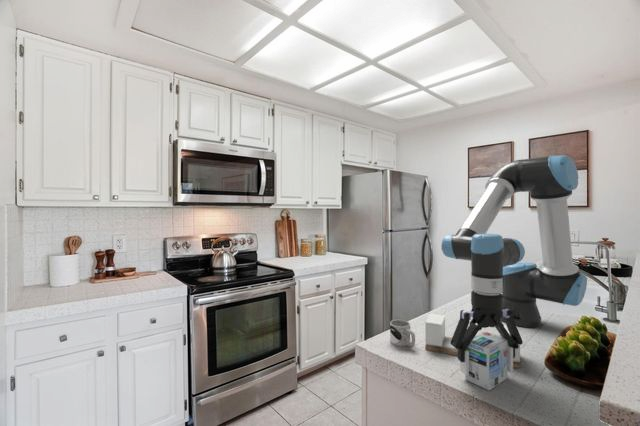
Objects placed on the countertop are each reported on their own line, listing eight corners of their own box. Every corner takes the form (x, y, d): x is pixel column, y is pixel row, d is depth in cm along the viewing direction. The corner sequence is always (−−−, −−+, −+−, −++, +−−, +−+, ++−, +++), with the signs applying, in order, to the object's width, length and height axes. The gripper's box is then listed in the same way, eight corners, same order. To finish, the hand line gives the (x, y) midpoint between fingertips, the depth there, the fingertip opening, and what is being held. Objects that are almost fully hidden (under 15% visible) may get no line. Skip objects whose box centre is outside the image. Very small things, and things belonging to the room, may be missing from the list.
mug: (386, 340, 108) (386, 321, 108) (400, 336, 111) (400, 318, 111) (406, 352, 99) (406, 332, 99) (422, 348, 102) (421, 328, 102)
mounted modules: (517, 348, 97) (517, 326, 97) (519, 361, 89) (520, 337, 89) (429, 333, 109) (429, 313, 109) (425, 343, 101) (425, 322, 101)
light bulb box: (489, 391, 78) (489, 349, 78) (463, 379, 83) (463, 340, 83) (508, 377, 84) (509, 338, 84) (483, 367, 90) (483, 330, 89)
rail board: (516, 353, 97) (516, 347, 97) (520, 368, 89) (520, 362, 89) (430, 337, 110) (430, 332, 110) (425, 349, 101) (425, 343, 101)
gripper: (451, 297, 78) (451, 382, 78) (539, 293, 81) (538, 375, 81) (437, 289, 85) (437, 367, 86) (517, 286, 88) (517, 361, 89)
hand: (486, 371), depth 84 cm, fingers closed on light bulb box, 12 cm apart
